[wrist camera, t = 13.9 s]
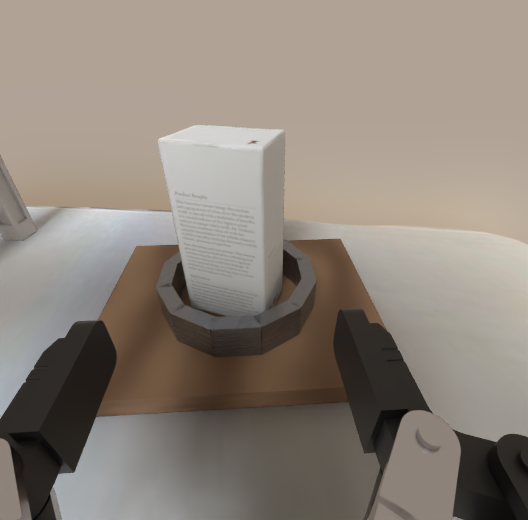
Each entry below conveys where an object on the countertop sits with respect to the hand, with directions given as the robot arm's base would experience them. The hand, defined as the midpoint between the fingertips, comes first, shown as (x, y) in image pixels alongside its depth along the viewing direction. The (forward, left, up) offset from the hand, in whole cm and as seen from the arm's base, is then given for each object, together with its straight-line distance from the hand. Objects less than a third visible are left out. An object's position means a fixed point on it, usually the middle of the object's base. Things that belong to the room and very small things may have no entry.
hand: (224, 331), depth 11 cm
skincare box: (0, +10, -8) cm, 13 cm away
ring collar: (0, +10, -8) cm, 13 cm away
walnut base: (0, +10, -9) cm, 14 cm away
